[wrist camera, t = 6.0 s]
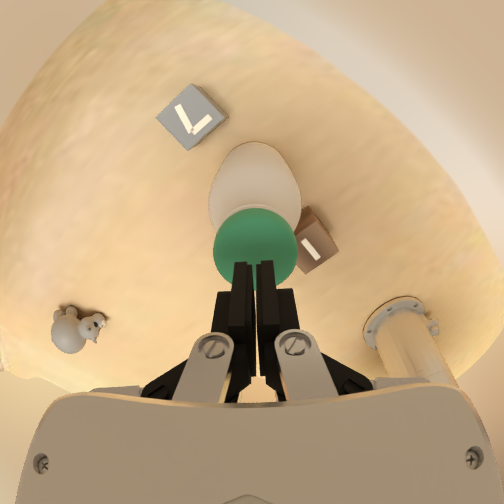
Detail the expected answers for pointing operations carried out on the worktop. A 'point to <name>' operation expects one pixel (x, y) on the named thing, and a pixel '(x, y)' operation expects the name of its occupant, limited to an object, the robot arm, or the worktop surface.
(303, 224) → the walnut block
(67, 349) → the chubby cartoon animal
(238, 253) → the milk bottle
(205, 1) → the worktop surface
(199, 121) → the slate grey block
